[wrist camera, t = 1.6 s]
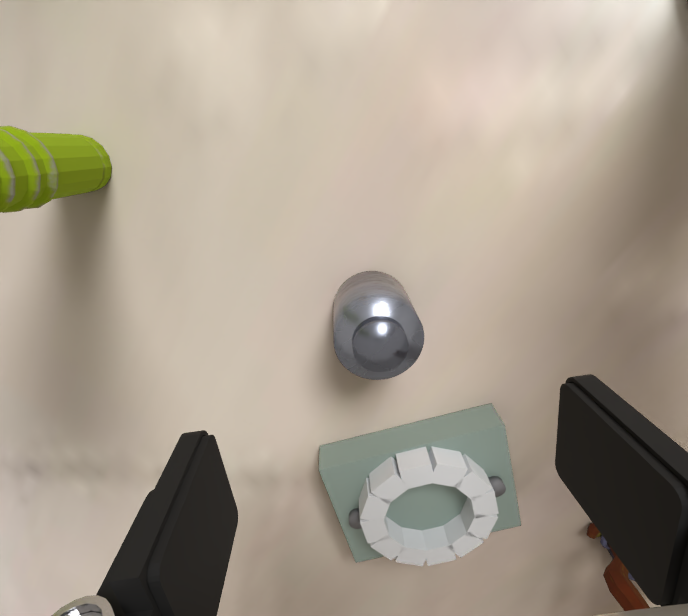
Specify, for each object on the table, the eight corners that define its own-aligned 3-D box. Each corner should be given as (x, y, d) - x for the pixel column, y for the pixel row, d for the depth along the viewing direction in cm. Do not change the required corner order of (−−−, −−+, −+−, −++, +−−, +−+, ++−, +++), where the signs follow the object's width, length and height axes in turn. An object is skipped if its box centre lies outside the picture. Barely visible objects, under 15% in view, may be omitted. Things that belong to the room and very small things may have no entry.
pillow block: (491, 403, 36) (514, 441, 32) (508, 499, 41) (530, 545, 36) (319, 446, 37) (318, 488, 33) (354, 534, 42) (357, 583, 37)
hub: (398, 261, 31) (416, 292, 25) (415, 329, 33) (435, 374, 27) (324, 282, 32) (322, 318, 25) (345, 348, 34) (348, 397, 27)
